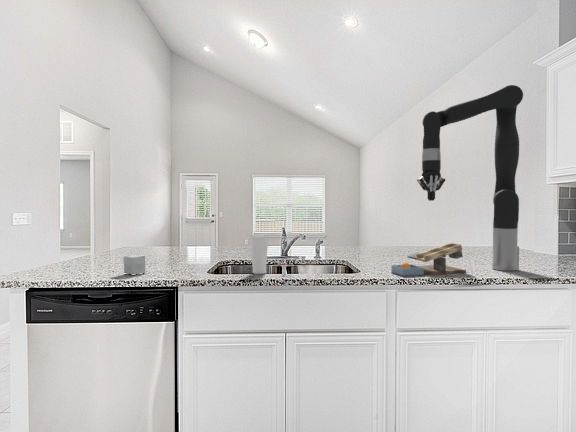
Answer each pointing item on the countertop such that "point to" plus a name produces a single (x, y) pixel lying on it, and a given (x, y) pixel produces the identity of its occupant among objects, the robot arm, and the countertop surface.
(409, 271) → the tray
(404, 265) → the ball
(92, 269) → the countertop surface
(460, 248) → the lever
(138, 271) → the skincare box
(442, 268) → the lever stand
